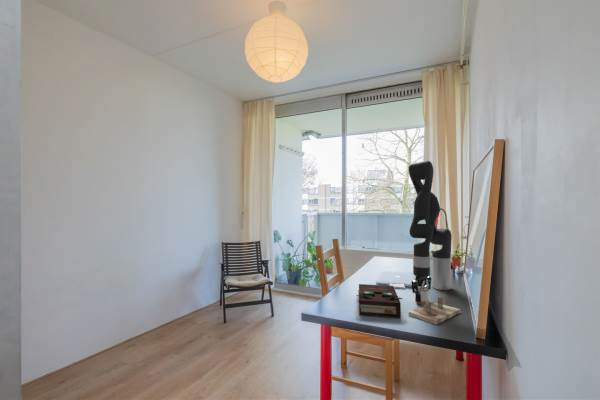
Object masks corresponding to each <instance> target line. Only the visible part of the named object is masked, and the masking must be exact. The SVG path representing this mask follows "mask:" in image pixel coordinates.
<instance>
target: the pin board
mask: <svg viewBox="0 0 600 400" xmlns="http://www.w3.org/2000/svg"><path fill="white" fill-rule="evenodd" d="M456 314H457V315H458V314H461V309H460V308H457V307H453V306H449V305H446V304H444V297H442V296H438V297H437V302H434V301H429V302H426V305H422V306H419V307H417V308H415V309H412V310H409V311H408V316H411V317H412V318H417V319H418V320H419V319H420V320H422V321H424V322H427V323H431V324H434V325H439V324H441V323H444V320H445V321H446V319H447V320H448V319H451V318H452V316H453V317H455V316H456ZM454 315H455V316H454Z"/></svg>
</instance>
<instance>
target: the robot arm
mask: <svg viewBox="0 0 600 400" xmlns="http://www.w3.org/2000/svg"><path fill="white" fill-rule="evenodd" d="M408 174H409V177H410V180H411V182H412V185H413V188H414V190H415V193H416V195H417V196H416V197H415V199H414V203H413V218H412V222H411V224H410V227H409V235H410V237H412V238H413V239H424V241H423V242H417V243H414V244H413V259H412V266H413V267H412V268H413V269H412V270H413V271H412V273H413V275H414V276H415V279H414V280H411V290H412V294H414V295H415V294H416V302H421V290H423V289H427V290H428V291H429V292H430V290H431V286H432V288H434V289H436V290H441V291H450V290H451V289H452V288H451V287H452V282H451V281H452V276H451V275H452V273H451V272H452V271H451V260H452V259H451V253H452V237H453V236H452V231H451V230H450V229H448V228H437V227H436V220H437V218H438V217H439V214H440V212H441V207H440V202H439V199H438V197H437V195H436V194H434V193H433V192H432V188H433V187H432V186H433V179H434V166H433V163H432V161H430V160H423V161H419V162H418V161H417V162H413V163H410V164H409V165H408ZM422 181H424V183H423V182H422ZM420 221H424V222H425V223H419V222H420ZM431 244H432V245H436V246H437V245H439V246H441V248H440V249H436V250H433V251H432V253H431V254H432V256H431V257H430V250H431V249H430V247H431V246H430V245H431ZM431 260H432V263H431ZM431 267H432V271H431ZM431 272H432V274H431ZM431 276H432V277H431ZM418 289H419V291H418ZM416 302H415V303H416Z"/></svg>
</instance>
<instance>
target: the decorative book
mask: <svg viewBox="0 0 600 400" xmlns="http://www.w3.org/2000/svg"><path fill="white" fill-rule="evenodd" d="M357 293H358V294H356V297H358V315H359V316H362V317H375V318H376V317H379V318H389V319H390V318H391V319H401V317H402V316H401V315H402V313H401V312H402V311H401V310H402V309H401V307H402V306H401V305H402V304H401V301H400V300H403V297H399V296H398V294H397V292H396V289H394V287H393V286H389V285H382V284H380V285H379V284H378V285H377V284H361V283H359V284H358V289H357Z"/></svg>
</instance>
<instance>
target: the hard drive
mask: <svg viewBox="0 0 600 400" xmlns="http://www.w3.org/2000/svg"><path fill="white" fill-rule="evenodd" d="M388 286H393V287H394V289H395V290H406V286H405V283H403V284H392V283H390V284H389V283H388Z"/></svg>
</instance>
